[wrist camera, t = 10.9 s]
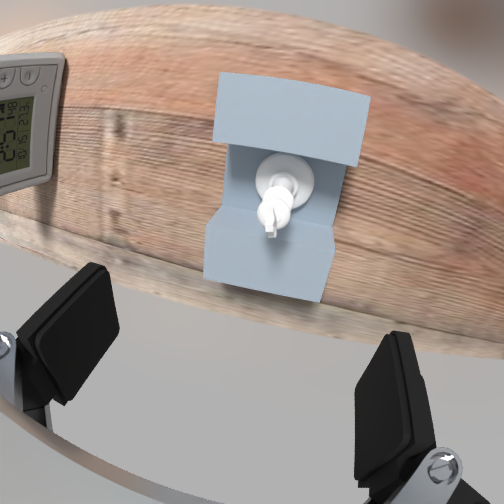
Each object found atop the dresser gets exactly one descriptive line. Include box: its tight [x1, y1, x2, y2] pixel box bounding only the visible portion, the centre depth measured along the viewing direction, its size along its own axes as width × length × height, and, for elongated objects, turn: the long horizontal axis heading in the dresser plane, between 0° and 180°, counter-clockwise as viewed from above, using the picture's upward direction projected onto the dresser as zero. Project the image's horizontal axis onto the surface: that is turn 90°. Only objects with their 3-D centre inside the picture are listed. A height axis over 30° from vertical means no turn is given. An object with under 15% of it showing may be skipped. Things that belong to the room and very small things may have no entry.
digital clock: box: [0, 52, 65, 196], centre depth 22 cm, size 16×9×11 cm, turn 152°
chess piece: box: [255, 152, 314, 238], centre depth 21 cm, size 5×5×10 cm
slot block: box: [203, 72, 371, 303], centre depth 24 cm, size 10×17×6 cm, turn 173°
